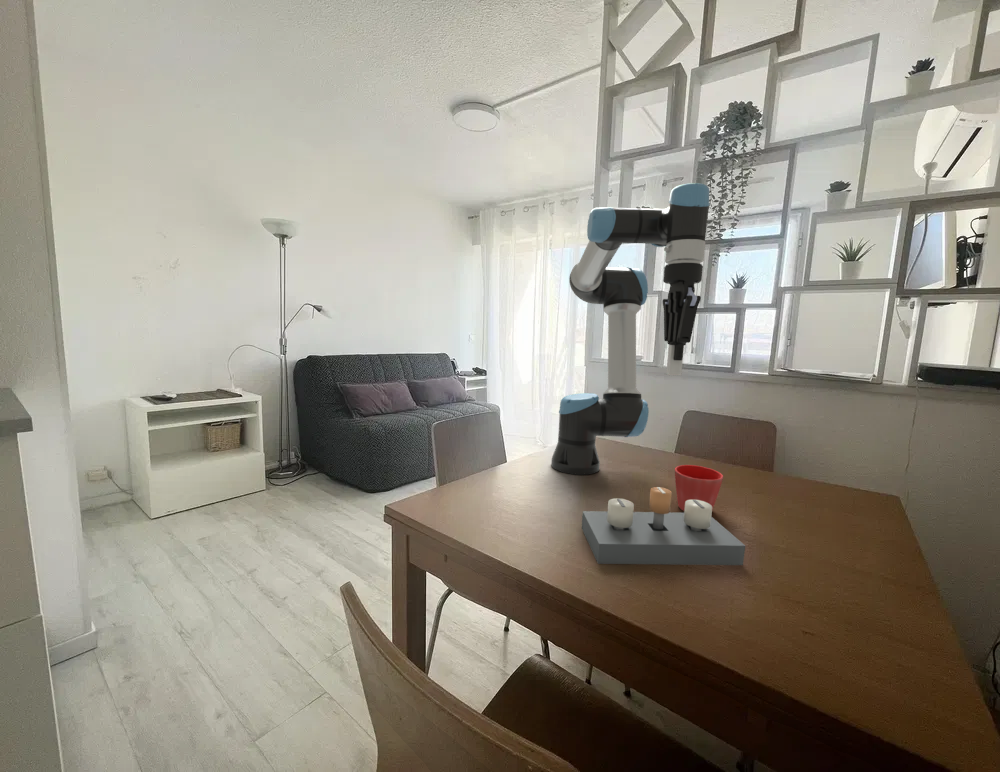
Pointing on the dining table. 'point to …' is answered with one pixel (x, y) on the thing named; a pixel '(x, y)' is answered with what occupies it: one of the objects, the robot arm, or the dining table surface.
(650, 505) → the pot knob
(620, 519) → the knob
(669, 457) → the dining table surface
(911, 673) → the dining table surface
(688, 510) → the knob
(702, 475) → the flower pot
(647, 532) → the control box
